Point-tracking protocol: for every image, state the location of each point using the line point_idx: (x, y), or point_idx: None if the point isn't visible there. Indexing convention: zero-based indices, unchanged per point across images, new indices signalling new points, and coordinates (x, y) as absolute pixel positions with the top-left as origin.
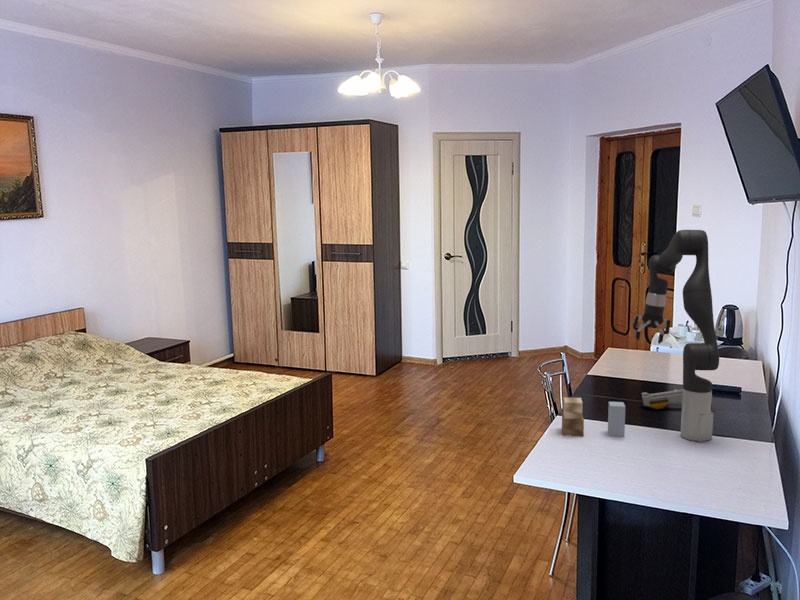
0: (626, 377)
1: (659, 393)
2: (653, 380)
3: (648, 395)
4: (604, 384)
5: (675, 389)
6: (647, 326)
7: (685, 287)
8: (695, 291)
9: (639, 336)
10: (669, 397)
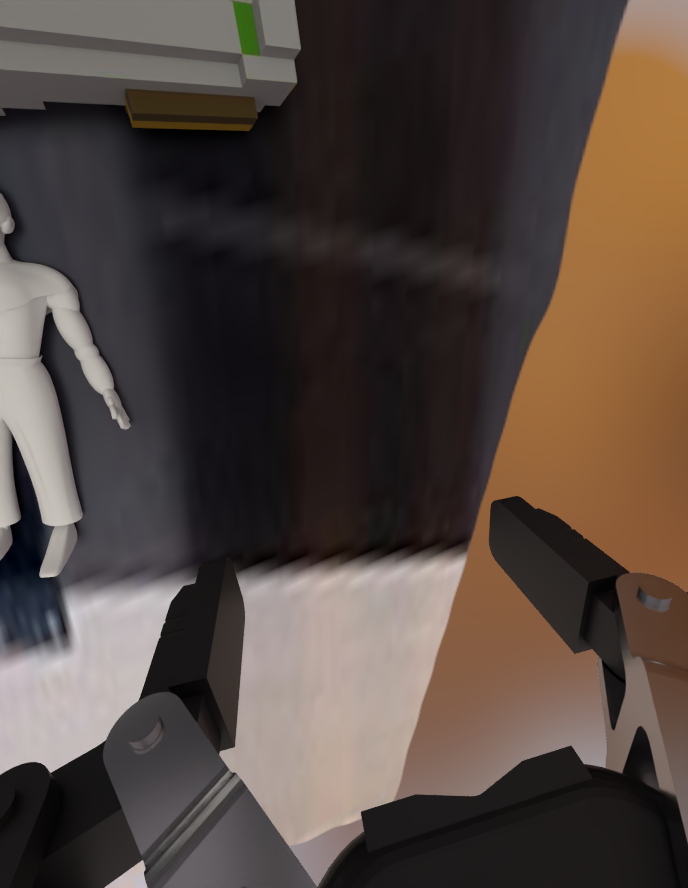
0: (357, 577)
1: (162, 18)
2: (255, 588)
3: (248, 17)
4: (439, 457)
5: (116, 415)
6: (594, 774)
7: None
8: None
9: (532, 528)
10: None
